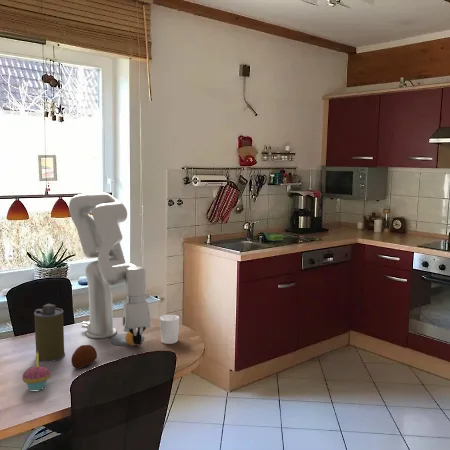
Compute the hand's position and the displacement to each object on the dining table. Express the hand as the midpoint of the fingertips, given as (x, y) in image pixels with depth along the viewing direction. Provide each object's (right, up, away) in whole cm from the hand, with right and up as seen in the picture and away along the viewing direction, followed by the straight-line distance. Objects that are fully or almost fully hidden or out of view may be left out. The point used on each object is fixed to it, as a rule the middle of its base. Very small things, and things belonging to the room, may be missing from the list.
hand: (137, 343), depth 198 cm
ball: (-2, +2, +4) cm, 5 cm away
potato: (-16, -4, -16) cm, 23 cm away
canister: (-31, -3, -8) cm, 33 cm away
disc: (-6, -1, +10) cm, 11 cm away
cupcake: (-27, -7, -34) cm, 44 cm away
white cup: (+12, -1, +9) cm, 15 cm away
